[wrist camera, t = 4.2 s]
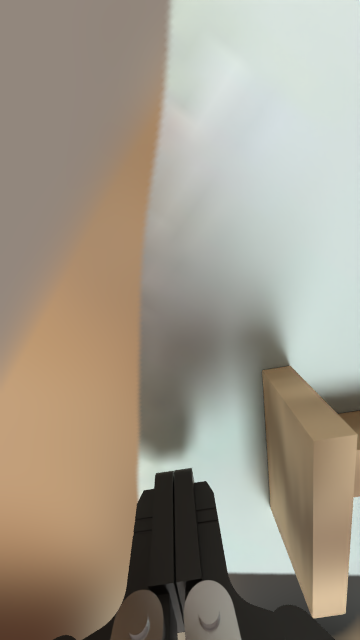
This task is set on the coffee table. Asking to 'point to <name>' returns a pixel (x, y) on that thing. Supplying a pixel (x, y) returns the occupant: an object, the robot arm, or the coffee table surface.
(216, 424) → the coffee table surface
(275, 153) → the coffee table surface
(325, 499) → the drawer
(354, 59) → the coffee table surface
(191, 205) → the coffee table surface
